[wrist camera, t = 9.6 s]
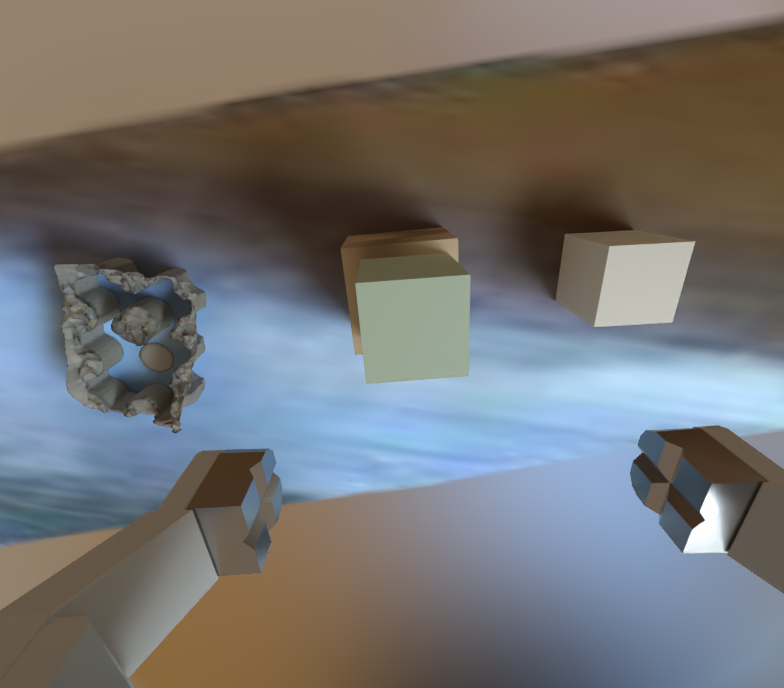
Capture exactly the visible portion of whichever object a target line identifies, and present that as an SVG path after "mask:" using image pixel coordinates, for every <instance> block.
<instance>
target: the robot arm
mask: <svg viewBox="0 0 784 688" xmlns="http://www.w3.org/2000/svg"><path fill="white" fill-rule="evenodd" d="M638 447H639V448H640V450H641V452H642V453H641V455H639V456H638V457H637V458H636V459H635V460H634V461H633V463H632V467H631V472H630V475H631V481H632V486H633V488H634V490H635V492H636V495H637V496H638V497H639V499H640V500H641V501H642V503H643V504H644V505H645V506H646V507H648V508H650V509H651V510H653V511H655V512H656V513H658V514H659V524H660V526H661V527H662V528H663V529H664V531H665V532H666V533H667V534H668V536H669V537H670V538H671V539H672V541H673V542H674V543H675V544H676V545H677V547H678V548H679V549H680V551H681V552H682V553H724V552H725V553H726V552H728V554H727V555H728V556H730V557H731V558H733V559H734V560H736V561H737V562H738V563H740V564H742V565H743V566H744V567H746V568H747V569H749V570H750V571H751V572H753V573H754V574H756V575H757V576H759V577H760V578H762V579H763V580H765V581H766V582H767V583H769V584H770V585H772V586H773V587H775V588H776V589H778V590H779V591H781V592H782V593H784V469H782V468H781V467H780V466H778V465H777V464H776V463H774V462H773V461H772V460H770V459H769V458H767V457H766V456H765V455H763V454H762V453H760V452H759V451H758V450H756V449H755V448H754V447H752V446H751V445H749V444H748V443H747V442H745V441H744V440H742V439H741V438H740V437H738V436H737V435H736V434H734V433H733V432H731V431H730V430H729V429H727V428H724V427H721V426H704V427H693V428H680V429H662V430H646V431H645V432H644V433H643V434H642V435H641V436H640V439H639V442H638ZM275 465H276V460H275V456H274V453H273V451H272V450H271V449H233V450H209V451H201V452H199V453H198V454H196V455H195V457H194V458H193V460H192V461H191V462H190V464H189V465H188V467H187V468H186V470H185V471H184V472H183V474H182V475H181V477H180V478H179V480H178V481H177V482H176V484H175V485H174V487H173V488H172V490H171V491H170V492H169V494H168V495H167V497H166V498H165V500H164V501H163V502H162V504H161V505H160V507H159V508H158V510H157V511H155V512H148V513H146V514H145V515H143V516H142V517H140V518H139V519H137V520H135V521H134V522H132V523H131V524H129V525H128V526H126V527H125V528H123V529H122V530H120V531H119V532H117V533H116V534H114V535H113V536H112V537H110V538H109V539H107V540H106V541H104V542H102V543H101V544H99V545H98V546H97V547H95V548H93V549H92V550H90V551H89V552H87V553H86V554H85V555H83V556H81V557H80V558H78V559H77V560H75V561H74V562H72V563H71V564H69V565H68V566H66V567H65V568H63V569H62V570H60V571H59V572H57V573H56V574H54V575H53V576H51V577H50V578H48V579H47V580H45V581H44V582H42V583H41V584H39V585H38V586H36V587H35V588H33V589H32V590H30V591H29V592H27V593H26V594H24V595H23V596H21V597H20V598H19V599H17V600H15V601H14V602H12V603H11V604H9V605H8V606H6V607H5V608H3V609H2V610H0V688H134V686H133V685H132V683H131V682H130V680H129V679H128V678H129V677H130V676H131V675H132V674H133V672H134V671H135V670H136V669H137V668H138V667H139V666H140V665H141V664H142V663H143V661H144V660H145V659H146V658H147V657H148V656H149V655H150V654H151V653H152V651H153V650H154V649H155V648H156V647H157V646H158V645H159V644H160V643H161V642H162V640H163V639H164V638H165V637H166V636H167V635H168V634H169V633H170V631H171V630H172V629H173V628H174V627H175V626H176V625H177V623H179V622H180V621H181V619H182V618H183V617H184V616H185V615H186V614H187V613H188V612H189V610H190V609H191V608H192V607H193V606H194V605H195V604H196V603H197V602H198V601H199V600H200V598H201V597H202V596H203V595H204V594H205V593H206V591H208V590H209V588H210V587H211V586H212V585H213V584H214V583H215V582H216V581H217V580H218V576H225V575H237V574H251V573H261V572H262V568H263V566H264V562H265V559H266V556H267V553H268V550H269V547H270V544H271V540H270V535H269V532H268V531H269V530H270V529H271V528H272V527H273V526H274V525H275V524H276V523H277V522H278V519H279V515H280V511H281V504H282V486H281V481H280V478H279V477H278V476H277V475H276V474H274V473H273V470H274V467H275Z"/></svg>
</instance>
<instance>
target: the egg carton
mask: <svg viewBox="0 0 784 688" xmlns="http://www.w3.org/2000/svg"><path fill="white" fill-rule="evenodd" d="M54 269H55V272H56V275H57V278H58V282H59V286H60V290H61V292H62V293H63V294H64V305H63V306H62V307H61V308H62V310H64V311H65V316H64V318H63V320H62V322H61V324H60V327H61V329H62V331H63V334H64V338H65V352H66V355H67V375H66V386H67V390H68V393H69V394H70V395H71V396H72V397H73V398H75V399H76V400H77V401H79V402H80V403H81V404H83V405H84V406H86V407H88V408H94V409H98V410H100V411H102V412H103V413H105V412H109V411H111V412H119V413H123V414H124V416H125V417H131V416H135V415H137V414H139V413H143V414H148V415H155V417H154V418H155V419H154V421H153V423H154V424H157V425H159V426H165V427H171V428H173V430H172V432H174V433H177V432H179V431H181V429H179V427H180V426H181V423H180V422H179V420H180V416H181V412H182V409H183V408H184V407H185V406H188V405H191V404H193V403H194V402H196V401H197V400H198V398H199V397H200V395H201V393H202V392H203V390H204V387H205V380H204V378H201V377H199V376H198V375H196V374H195V373H194V372H193V371H192V367H193V365H194V361H196V360H197V359H198V357H199V356H201V354H202V353H204V352H205V344H204V338H203V337H202V336H200V335H199V334H197V333H196V312H197V311H199V310H200V309H202V308H204V307H205V306H206V293H205V292H204V291H202V290H201V289H199V288H197V287H196V286H195V285H194V284H193V282H192V281H191V279H190V276H189V273H188V271H186V270H181V269H176V268H172V269H170V270H168V271H165V272H162V273H160V274H157V275H156V276H154V277H153V278H146V277H145V276H144V275H143V274H141V273H139V272H138V270H137V269H136V267H135V264H134V262H133V261H132V260H130V259H125V258H120V257H116V258H113V259H110V260H106V261H104V262H100V263H95V264H60V265H55V266H54ZM99 273H102V274H103V275H105V277H106V279H107V280H108V281H109V282H112V283H116V284H119V285H120V286H121V287H122V288H123V290H124V291H126V292H128V293H133V294H136V293H138V292H140V291H141V290H145V289H146V288H149V287H151V286H153V285H155V284H158V283H160V282H162V281H164V280H166V279H167V278H169V279H171V280H172V282H173V289H174V292H175V293H176V294H178V295H179V296H180V298H181V299H182V300H184V299H188V300H190V301H191V306H192V311H191V312H189V313H188V314H186V315H185V316H183V317H181V318H180V319H178V321H177V322H176V324H175V325H174V328H173V329H172V330H171V332H170V336H171V337H172V338H174V339H177V340H179V341H181V343H182V344H183V345H184V346H185V347H186V348H187V349H189V350H191V356H190V357H189V358H188V359H187V360H186V361H185V362H184V363H183V364H181V365H180V366H178V367H177V368H176V369H175V370H174V372H173V373H172V381H171V382H170V383H169V386H170V387H171V388H172V389H173V393H174V394H175V395H174V394H173V393H172V391H171V390H170V389H169V388H167V387H166V386H164V385H161V384H151V385H148V386H146V387H145V388H144V389H143V390H142V391H140V392H139V393H138V394H137V393H132V392H129V391H128V390H127V388H126V386H125V385H124V384H123V382H121V381H120V380H118V379H117V378H114V377H111V376H110V375H109V372H108V369H109V368H111V367H112V366H114V365H115V364H117V363H118V362H120V361H121V360H122V358H123V356H124V350H123V348H122V345H121V344H120V343H119V342H118V341H117V340H116V339H115V338H114V337H111V336H109V335H107V334H105V332H104V326H103V324H104V323H106V322H107V321H109V320H111V319H113V318H114V319H113V321H112V324H111V329H112V331H113V332H114V333H116V334H119V336H120V337H121V338H123V339H124V340H126V341H128V342H131V343H134V344H136V346H142V345H145V344H146V345H145V346H144V347H143V348H142V350H141V353H140V359H141V361H142V362H143V364H144V365H145V366H147V367H148V368H149V369H151V370H153V371H159V372H162V371H166V370H169V369H170V368H171V367H172V366H173V362H174V359H173V356H172V353H171V352H170V350H169V349H168V348H166V347H165V346H163V345H162V344H159V343H150V344H147V343H148V342H149V340H150V339H151V338H152V337H154V336H155V335H157V334H158V333H159V332H161V331H162V330H163V329H165V328H166V327H168V326H169V325H170V323H171V322H172V319H173V314H172V311H171V309H170V307H169V306H168V305H167V304H166V303H165V302H164V301H163V300H161V299H158V298H156V297H147V298H144V299H141V300H139V301H137V302H135V303H133V304H131V305H129V306H127V307H124V308H122V309H121V310H120V304H119V301H118V299H117V297H116V296H115V295H114V294H113V293H111V292H110V291H109V290H107V289H105V288H103V287H101V286H100V285H99V279H98V274H99ZM119 311H120V312H119Z"/></svg>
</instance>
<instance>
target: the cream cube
mask: <svg viewBox="0 0 784 688" xmlns="http://www.w3.org/2000/svg"><path fill="white" fill-rule="evenodd" d="M694 244H695V241H690V240H685V239H679V238H674V237H669V236H663V235H658V234H652V233H647V232H642V231H636V230H627V231H609V232H591V233H573V234H565V237H564V244H563V251H562V258H561V265H560V272H559V279H558V286H557V293H556V300H555V301H556V302H557V303H559V304H560V305H562V306H563V307H565V308H566V309H568V310H569V311H571V312H572V313H574V314H575V315H577V316H578V317H580V318H581V319H583V320H584V321H586V322H587V323H589V324H590V325H592V326H593V327H602V326H619V325H636V324H653V323H671V322H673V318H674V315H675V311H676V308H677V304H678V301H679V297H680V294H681V290H682V286H683V283H684V279H685V276H686V272H687V269H688V265H689V262H690V258H691V255H692V251H693V248H694Z"/></svg>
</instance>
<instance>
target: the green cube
mask: <svg viewBox="0 0 784 688" xmlns="http://www.w3.org/2000/svg"><path fill="white" fill-rule="evenodd" d="M355 286H356V295H357V304H358V313H359V322H360V331H361V340H362V350H363V359H364V368H365V377H366V384H371V383H384V382H397V381H410V380H423V379H437V378H450V377H463V376H468V371H469V321H470V274H469V273H468V272H467V271H466V270H465V269H464V268H463V267H462V266H461V265H460V264H459V263H458V262H457V261H456V260H455V259H454V258H453V257H452V256H450V255H449V254H448V253H441V254H427V255H414V256H400V257H387V258H373V259H361V261H360V265H359V269H358V274H357V278H356V282H355Z"/></svg>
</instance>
